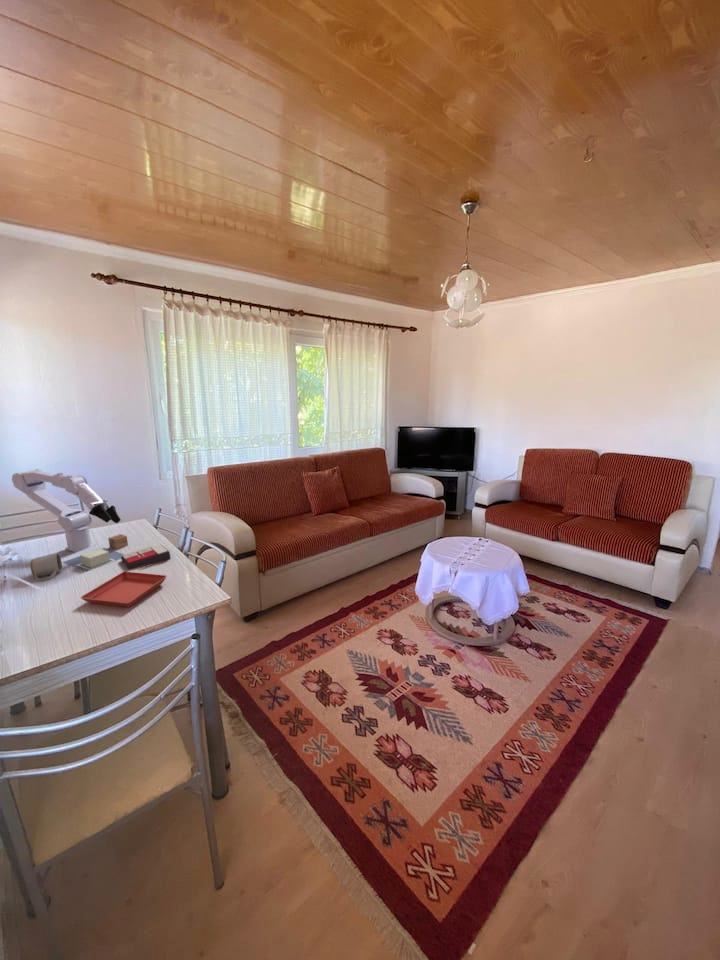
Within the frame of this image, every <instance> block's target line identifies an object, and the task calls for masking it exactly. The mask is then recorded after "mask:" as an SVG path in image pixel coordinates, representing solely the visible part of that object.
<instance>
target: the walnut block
mask: <svg viewBox="0 0 720 960" xmlns="http://www.w3.org/2000/svg"><path fill="white" fill-rule="evenodd" d="M107 540H108V544H109V549H110V548H111V549H113V550H119V549H121V548H125V547H127V546H129V542H128V536H127V535H124V534H121V533H120V534H119V533H118V534H117V535H113V536H110V537H108V539H107Z"/></svg>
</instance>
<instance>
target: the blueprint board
mask: <svg viewBox="0 0 720 960" xmlns="http://www.w3.org/2000/svg"><path fill="white" fill-rule="evenodd" d="M101 549H102V550H105V551H108V552H109V556H110V561H109V562H106V563H104V564H101V565H98V566H96V567H93V568H90V567H87V566H85V565H82V563H81V558H80V555H79V556H76V557H73V558H70V559H67V560H65V561H64V560H63V561H62V564H65V565H67V566H71V567H73V568H76V569H78V570H81V571H84V572H89V571H92V570H95V569H98V568H99V567H103V566H106V565H108V564H111V563H114V562H116V561H118V560H122V559H121V556H122V555H124V554H125V553H122V552H118V551H115V550H114V549H113V550H112V549H110V548H109V549H108V548H106V547H103V548H101Z"/></svg>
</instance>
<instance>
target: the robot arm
mask: <svg viewBox="0 0 720 960" xmlns="http://www.w3.org/2000/svg"><path fill="white" fill-rule="evenodd" d="M11 481H12V484H13V487H14V488H16V489H17V490H18V491H20V492H22V494H25V496H27V498H28V499H30V500H32V501H33V502H34V503H37V504H38V505H39V506H41V507H42V508H44V509H46V510H47V511H48V512H50V513H51V514H53V515H55V516H56V517H57V523H58V524H59V525H60V526H61V528H62V529H63V530H65V540H66V545H67V547H65V550H68V551H70V552H73V553H77V552H81V551H84V550H88V549H90V548H94V547H96V544H93V543H92V539H91V534H90V529H89V527H91V524H92V522H93V519H92V517H93V516H94V517H97V518H98V519H100V520H101V521H103V522H105V523H109V522H110V521H112V522H113V523H114V524H118V523H119V522H121V520H122V519H121V517H120V515H118V514H119V513H118V512H117V510H116V507H115V506H114V505H109V504H108V503H107V502H108V501H109V500H108V499H107V498H104V499H102V498H101V497H100V496H99V495H98V493H97V492H95V491H94V489H92V488H91V487H90V486H89V485H88V481H87V479H86V478H85V477H84V476H82V475H76V476H73V475H71V474H64V472H61V471H60V472H57V473H55V474H53V473H50V472H46V471H45V470H43V469H39V468H37V469H36V468H35V469H32V470H27V471H22V472H14V473H13V474H12V477H11ZM46 483H50V484H51V485H52V486H53V487H56V488H60V489H64V490H65V491H66V492H67V493H69V494H71V495H73V496H76V497H77V498H78V499H79V500H80V501H81V502H82V503H83V504H84V505H85V506H86V508H87V509H89V512H88V511H86V510H82V509H80V508H71V507H69V506H68V505H66V504H65V503H63V502H62V501H60V500H59V499H57V498H55V497H54V496H53V495H51V494H50V493H48V492H46V491H45V489H46V488H47V486H46Z"/></svg>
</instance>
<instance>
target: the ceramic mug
mask: <svg viewBox="0 0 720 960" xmlns="http://www.w3.org/2000/svg"><path fill="white" fill-rule="evenodd" d="M29 566H30V572H31V575H32V576H33V577H34V579H36V582H37V581H38V582H44V581H48V580H51V579H53V578H55V577H56V575H57V574H61V573H62V572H61V570H63V561H62V558H61V556H60V553H59V552H55V553H50V554H47V555H42V556H38V557H35V558H32V560H31V561H30V565H29ZM46 576H48V577H46ZM41 577H45V578H41Z"/></svg>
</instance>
